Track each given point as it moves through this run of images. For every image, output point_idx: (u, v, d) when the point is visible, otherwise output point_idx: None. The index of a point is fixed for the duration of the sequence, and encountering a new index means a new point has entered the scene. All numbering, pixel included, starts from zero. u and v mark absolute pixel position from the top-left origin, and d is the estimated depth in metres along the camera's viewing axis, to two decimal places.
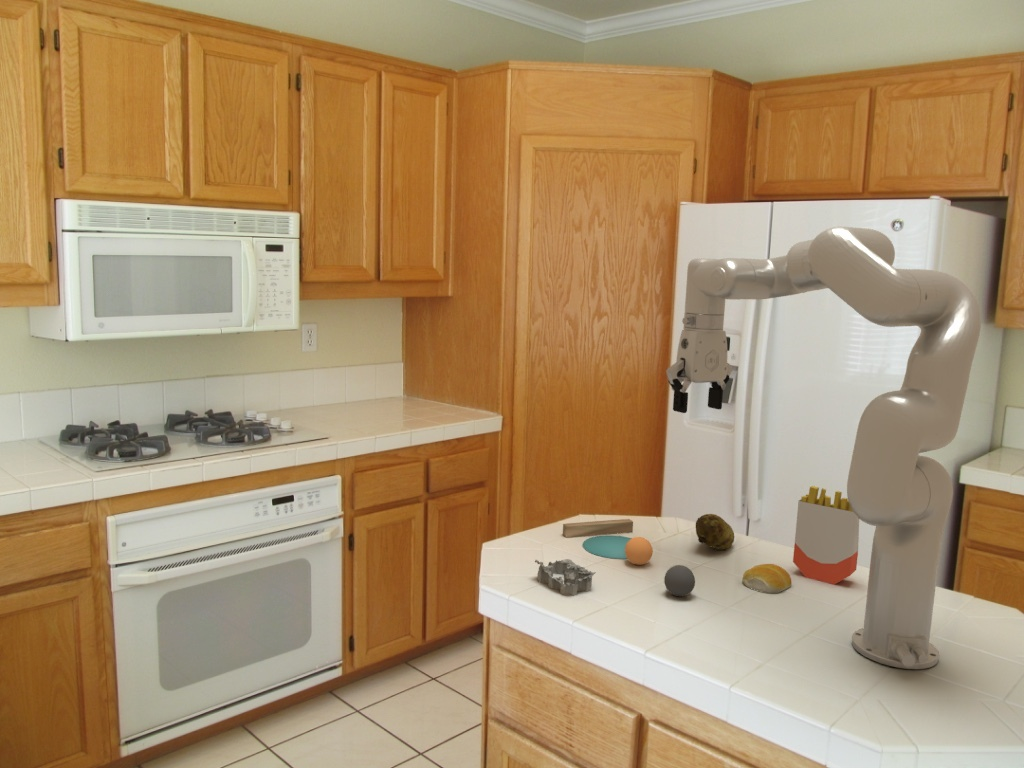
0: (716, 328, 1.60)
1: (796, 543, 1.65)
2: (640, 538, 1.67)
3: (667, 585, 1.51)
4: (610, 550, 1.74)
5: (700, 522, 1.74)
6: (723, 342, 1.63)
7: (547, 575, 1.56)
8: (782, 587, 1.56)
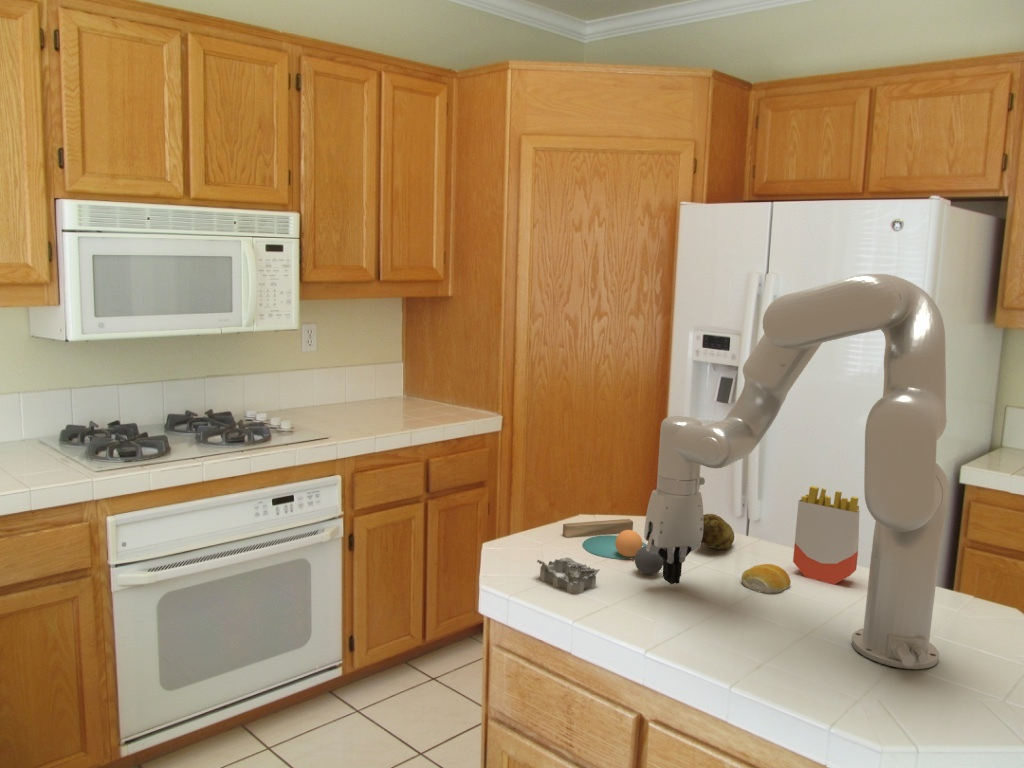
0: None
1: (796, 543, 1.65)
2: None
3: (635, 559, 1.62)
4: (610, 550, 1.74)
5: None
6: None
7: (550, 574, 1.57)
8: (781, 587, 1.56)
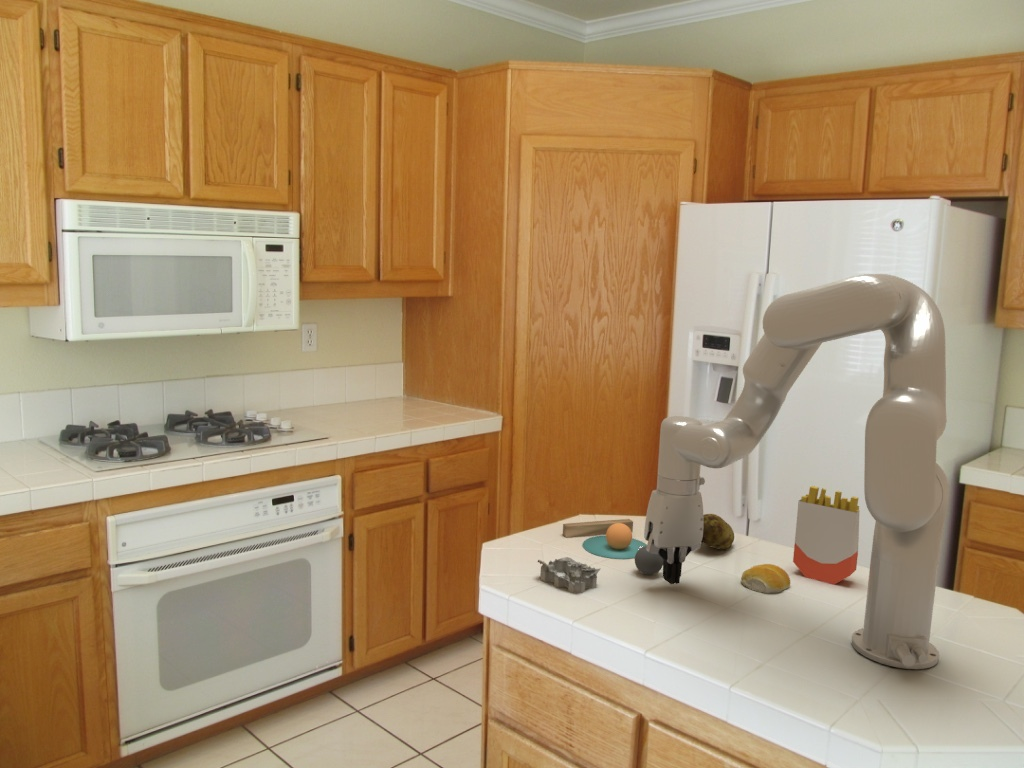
0: None
1: (796, 543, 1.65)
2: None
3: (635, 559, 1.62)
4: (610, 550, 1.74)
5: None
6: None
7: (551, 574, 1.57)
8: (781, 587, 1.55)
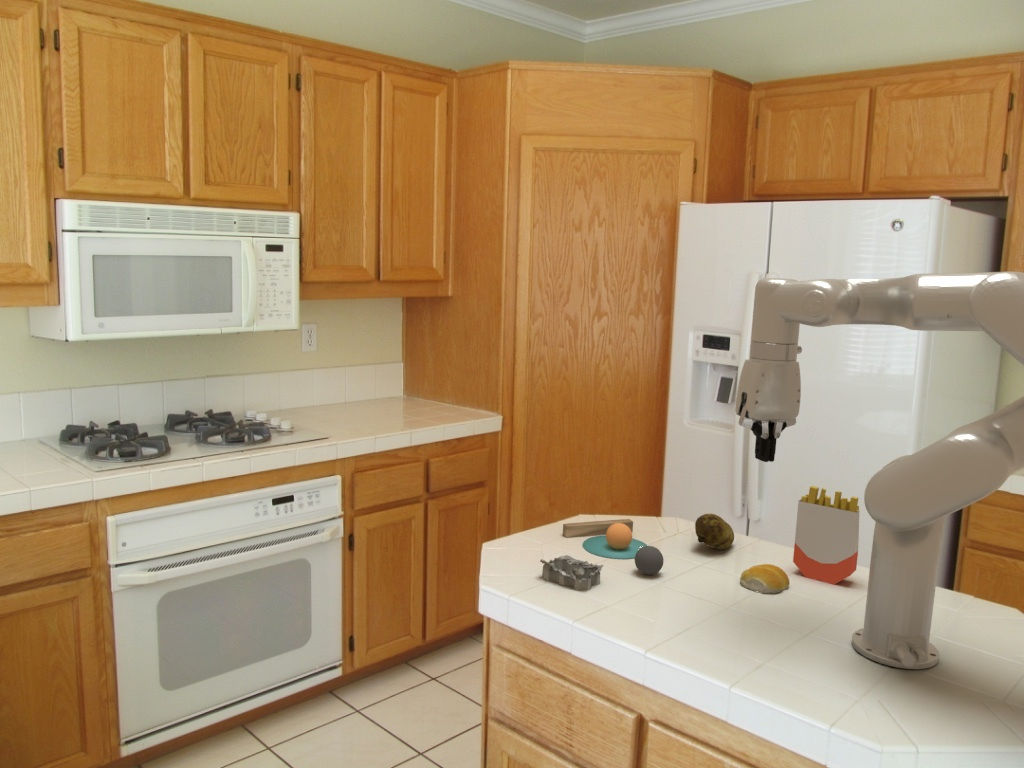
0: None
1: (796, 543, 1.65)
2: None
3: (635, 559, 1.62)
4: (610, 550, 1.74)
5: (699, 522, 1.74)
6: None
7: (554, 573, 1.57)
8: (780, 587, 1.55)
